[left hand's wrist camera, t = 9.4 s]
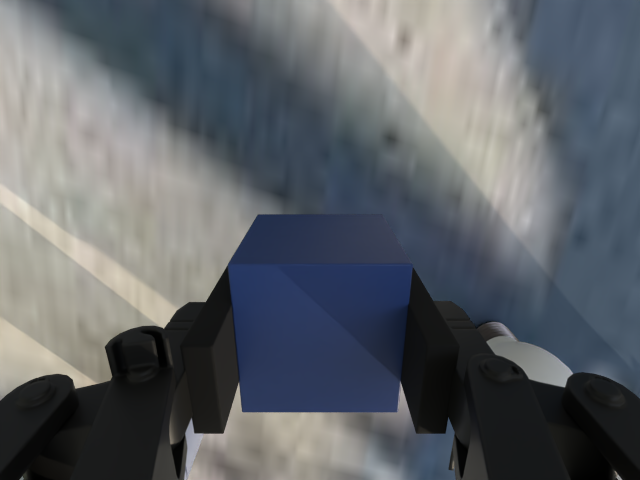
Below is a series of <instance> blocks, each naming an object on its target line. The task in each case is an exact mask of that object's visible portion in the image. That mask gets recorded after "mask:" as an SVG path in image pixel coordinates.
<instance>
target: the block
mask: <svg viewBox="0 0 640 480" xmlns="http://www.w3.org/2000/svg"><path fill="white" fill-rule="evenodd" d="M412 268H413V264H412V263H411V261H410V259H409V258H408V256H407V254H406V253H405V251H404V249H403V248H402V246H401V244H400V243H399V241H398V239H397V238H396V236H395V234H394V233H393V231H392V230H391V228H390V226H389V225H388V223H387V221H386V220H385V218H384V216H383V215H257V217H256V219H255V220H254V222H253V224H252V225H251V227H250V229H249V230H248V232H247V234H246V235H245V237H244V239H243V240H242V242H241V244H240V245H239V247H238V248H237V250H236V252H235V253H234V255H233V257H232V258H231V260H230V262H229V263H228V272H229V283H230V293H231V303H232V312H233V323H234V333H235V343H236V353H237V364H238V374H239V385H240V395H241V405H242V412H398V410H399V400H400V389H401V374H402V364H403V354H404V343H405V333H406V323H407V313H408V304H409V298H410V288H411V278H412Z"/></svg>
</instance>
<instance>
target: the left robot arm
mask: <svg viewBox="0 0 640 480" xmlns="http://www.w3.org/2000/svg"><path fill="white" fill-rule="evenodd" d="M105 349H106V353H107V357H108V361H109V365H110V369H111V373H112V379H111V381H107V382H104V383H100V384H95V385H91V386H86V387H82V388H77V389H75V386H74V383H73V380H72V379H71V378H70V377H69V376H67V375H62V374H53V375H46V376H42V377H39V378H35V379H33V380H30V381H28V382H26V383H24V384H23V385H21V386H19V387H17V388H16V389H14V390H13V391H12V392H10V393H9V394H7V395H6V396H5V397H4V398H3V399H2V400H1V401H0V480H19V479H20V478H21V477H22V476H23V478H24V480H184V477H185V467H186V458H187V448H188V447H187V441H186V435H185V432H186V430H187V428H188V425H189V423H190V420H191V418H192V423H193V429H194V434H223V433H224V430H225V427H226V423H227V420H228V417H229V413H230V410H231V407H232V403H233V400H234V396H235V393H236V390H237V386H238V383H239V374H238V364H237V353H236V343H235V333H234V323H233V312H232V303H231V293H230V283H229V272H228V266H227V267H226V269H225V271H224V273H223V274H222V276H221V278H220V279H219V281H218V283H217V284H216V286H215V288H214V289H213V291H212V293H211V294H210V296H209V298H208V299H207V301H206V302H189V303H187V304H186V305H184V306H183V307H182V308H180V309H179V310H177V311H176V313H175V314H174V316H173V317H172V318H171V320H170V322H169V323H168V324H167V325H166V327H165V328H164V329H163V328H161V327H157V326H142V327H137V328H133V329H130V330H127V331H125V332H122V333H120V334H119V335H117V336H116V337H114V338H113V339H111V340H110V341H109V342H108V344H107V345H106V346H105ZM401 384H402V387H403V391H404V394H405V397H406V401H407V404H408V407H409V411H410V414H411V417H412V421H413V424H414V427H415V431H416V434H445V433H446V427H447V421H448V417H449V419H450V422H451V424H452V427H453V429H454V431H455V435H454V440H453V446H452V452H451V458H450V464H449V470H453V469H454V466H455V476H456V480H618V479H617V478H616V477H617V474H618V475H619V476H620V477H621V478H622V480H640V399H639V398H638V397H637V396H636V395H635V394H634V393H632V392H631V391H630V390H628V389H627V388H626V387H624V386H623V385H621V384H619V383H617V382H615V381H613V380H611V379H609V378H606V377H604V376H601V375H597V374H591V373H584V372H581V373H575V374H572V375H571V376H570V377H568V379H567V382H566V385H565V387H561V386H556V385H551V384H547V383H542V382H538V381H534V380H531V379H529V378H528V376H527V375H526V373H525V372H524V370H523V369H522V368H521V367H520V366H518V365H517V364H516V363H514V362H513V361H511V360H509V359H507V358H505V357H502V356H498V355H495V353H494V352H493V351H492V349H491V348H490V346H489V345H488V344H487V342H486V341H485V339H484V338H483V337H482V335H481V334H480V333H479V331H478V330H477V329H476V327H475V326H474V324H473V323H472V321H470V319H469V317H468V316H467V314H466V313H465V312H464V310H463V309H462V308H460V307H459V306H457V305H456V304H454V303H453V302H451V301H433V300H432V298H431V297H430V295H429V293H428V291H427V290H426V288H425V286H424V285H423V283H422V281H421V280H420V278H419V276H418V275H417V273H416V271H415V270H414V268H412V278H411V288H410V298H409V304H408V313H407V323H406V333H405V343H404V354H403V364H402V374H401Z"/></svg>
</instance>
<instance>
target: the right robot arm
mask: <svg viewBox="0 0 640 480" xmlns="http://www.w3.org/2000/svg"><path fill="white" fill-rule="evenodd" d="M185 435H186V441H187V447H188V448H187V458H186V467H185V477H184V480H187V479H188V476H189V473H190V471H191V468H192V465H193V462H194V460H195V457H196V454H197V451H198V449H199V446H200V443H201V440H202V437H203V435H204V434H194V429H193V423H192V418H191V420H190V423H189V425H188V428H187V430H186V432H185Z"/></svg>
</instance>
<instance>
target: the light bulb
mask: <svg viewBox="0 0 640 480" xmlns="http://www.w3.org/2000/svg"><path fill="white" fill-rule="evenodd" d="M477 330H478V331H479V333H480V334H481V335H482V337H483V338H484V339H485V341H486V342H487V344H488V345H489V346H490V348H491V349H492V351H493V352H494V353H495V355H498V356H502V357H505V358H507V359H509V360H511V361H513V362H514V363H516V364H517V365H518V366H520V367H521V368H522V369H523V370H524V372H525V373H526V375H527V376H528V378H529V379H531V380H534V381H538V382H542V383H547V384H551V385H556V386H561V387H565V385H566V382H567V379H568V377H570V376H571V375H572V374H573V373H572V371H571V370H570V369H569V368H568V367H567V366H566V365H565V364H564V363H563V362H561V361H560V360H559V359H558V358H557V357H556V356H554V355H553V354H551V353H549V352H548V351H546V350H544V349H542V348H540V347H538V346H535V345H532V344H529V343H525V342H519V340H518V339H517V338H516V337H515V336H514V334H513V333H512V332H511V331H510V330H509V329H508V328H507V327H506V326H504V325H503V324H501V323H498V322H490V323H486V324H484V325H482V326H480V327H478V328H477Z"/></svg>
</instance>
